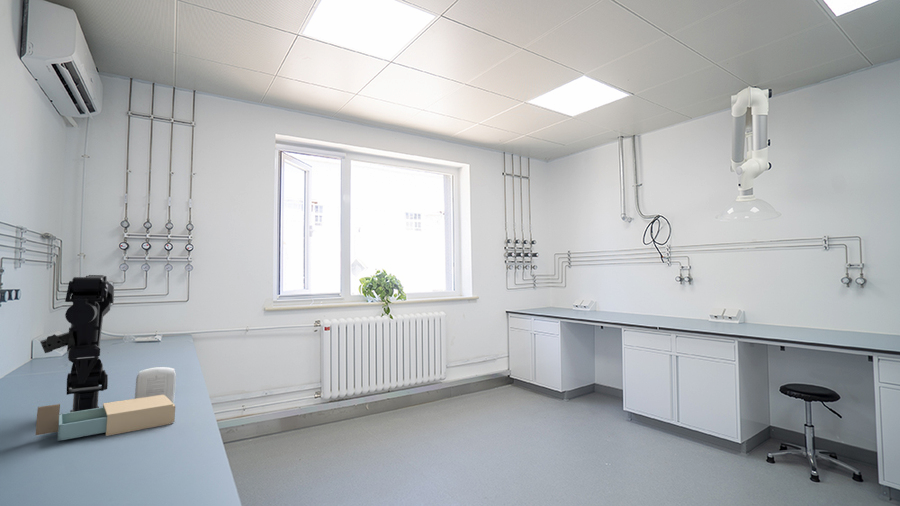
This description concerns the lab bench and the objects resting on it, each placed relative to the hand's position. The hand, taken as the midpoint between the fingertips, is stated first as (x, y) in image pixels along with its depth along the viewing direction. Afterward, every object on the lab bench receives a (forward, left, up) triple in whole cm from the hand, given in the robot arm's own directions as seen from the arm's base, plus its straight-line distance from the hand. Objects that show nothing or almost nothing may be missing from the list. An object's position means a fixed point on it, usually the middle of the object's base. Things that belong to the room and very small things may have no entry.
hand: (80, 380), depth 114 cm
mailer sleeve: (+8, +12, -12) cm, 19 cm away
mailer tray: (+8, +1, -11) cm, 14 cm away
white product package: (-6, +18, -12) cm, 23 cm away
